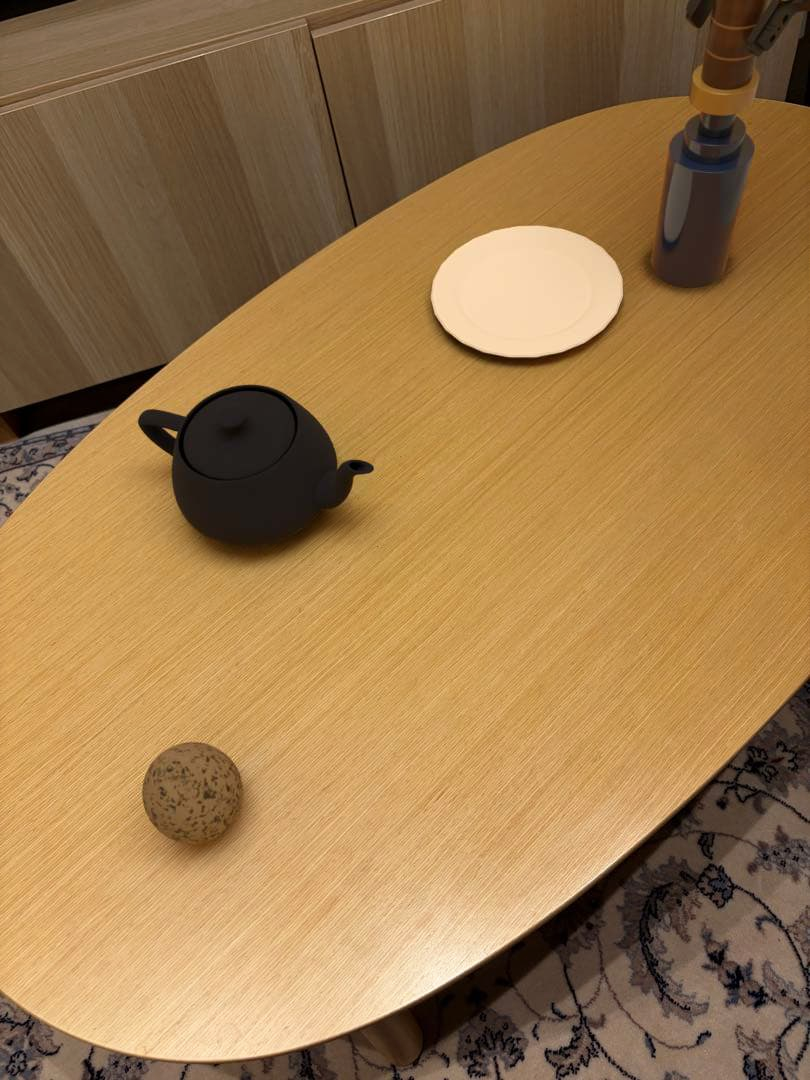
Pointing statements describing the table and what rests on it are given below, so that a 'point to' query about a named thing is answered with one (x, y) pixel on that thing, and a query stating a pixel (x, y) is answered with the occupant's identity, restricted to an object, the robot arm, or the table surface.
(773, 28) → the robot arm
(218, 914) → the table surface
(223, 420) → the teapot
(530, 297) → the plate
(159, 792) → the decorative egg
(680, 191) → the bottle
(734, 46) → the brown ridged cylinder
